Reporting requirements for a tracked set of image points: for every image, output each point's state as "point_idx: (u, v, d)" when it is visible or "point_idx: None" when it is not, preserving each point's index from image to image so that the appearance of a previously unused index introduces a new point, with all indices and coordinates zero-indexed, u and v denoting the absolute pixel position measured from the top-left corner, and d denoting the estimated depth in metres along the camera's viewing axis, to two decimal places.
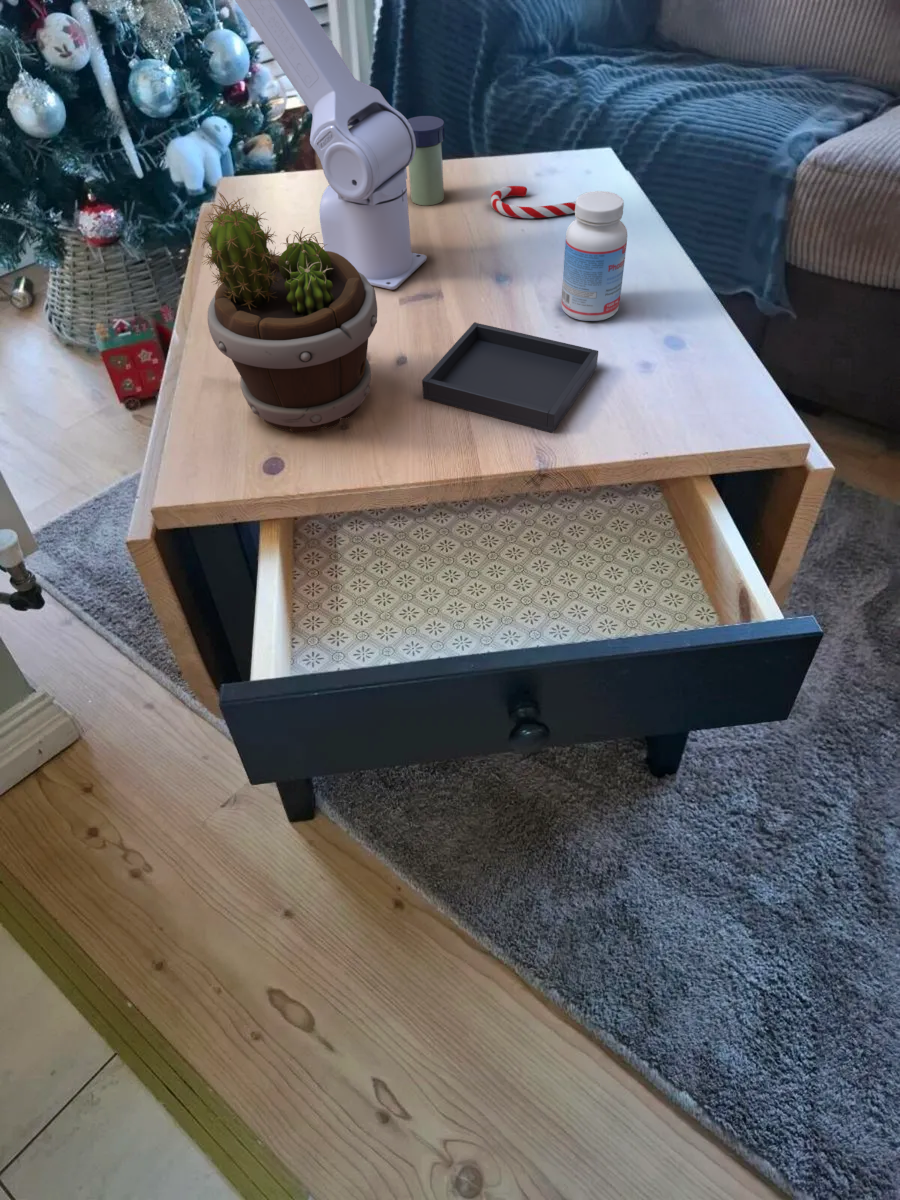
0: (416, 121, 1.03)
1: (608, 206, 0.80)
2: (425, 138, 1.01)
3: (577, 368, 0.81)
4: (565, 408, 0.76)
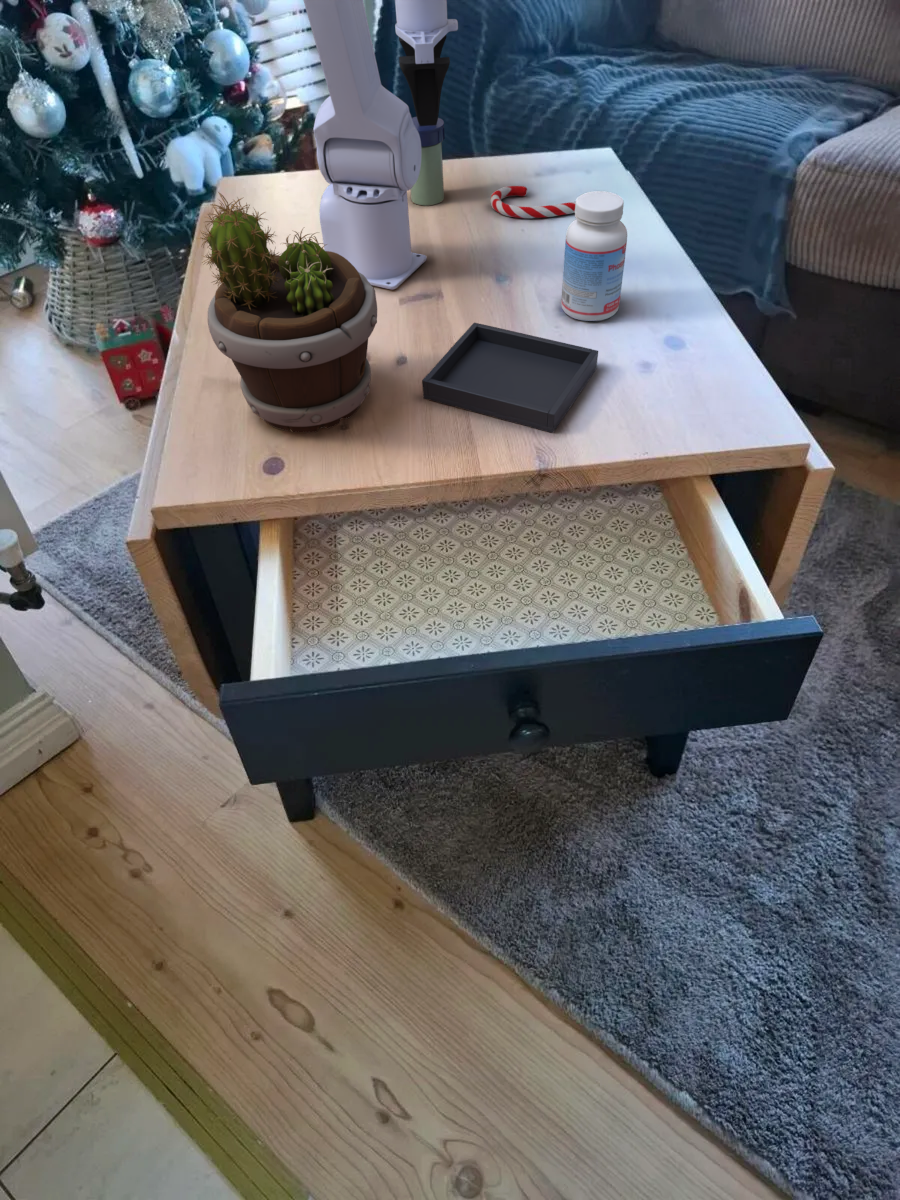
0: (416, 121, 1.03)
1: (608, 206, 0.80)
2: (425, 138, 1.01)
3: (577, 368, 0.81)
4: (565, 408, 0.76)
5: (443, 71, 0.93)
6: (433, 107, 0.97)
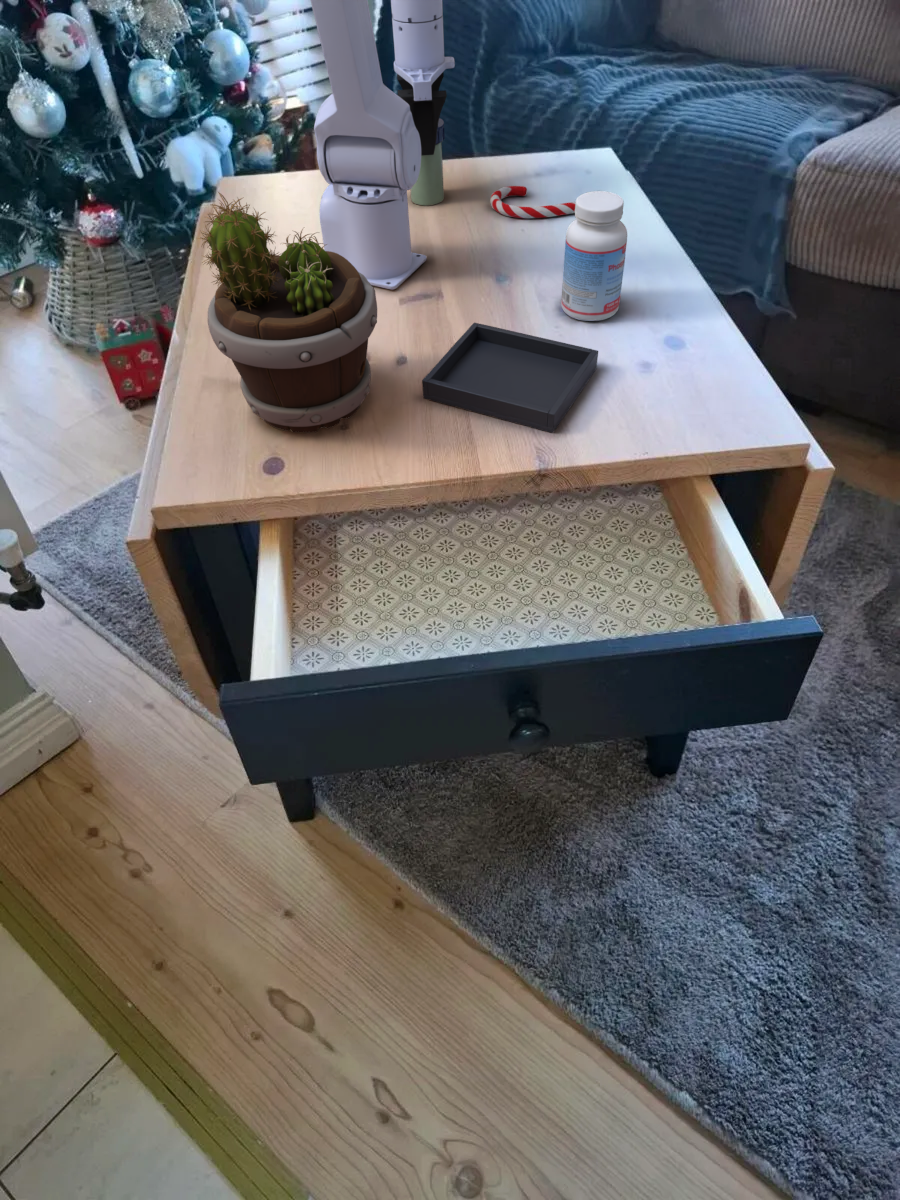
0: None
1: (608, 206, 0.80)
2: None
3: (577, 368, 0.81)
4: (565, 408, 0.76)
5: (440, 104, 0.96)
6: (430, 138, 1.00)
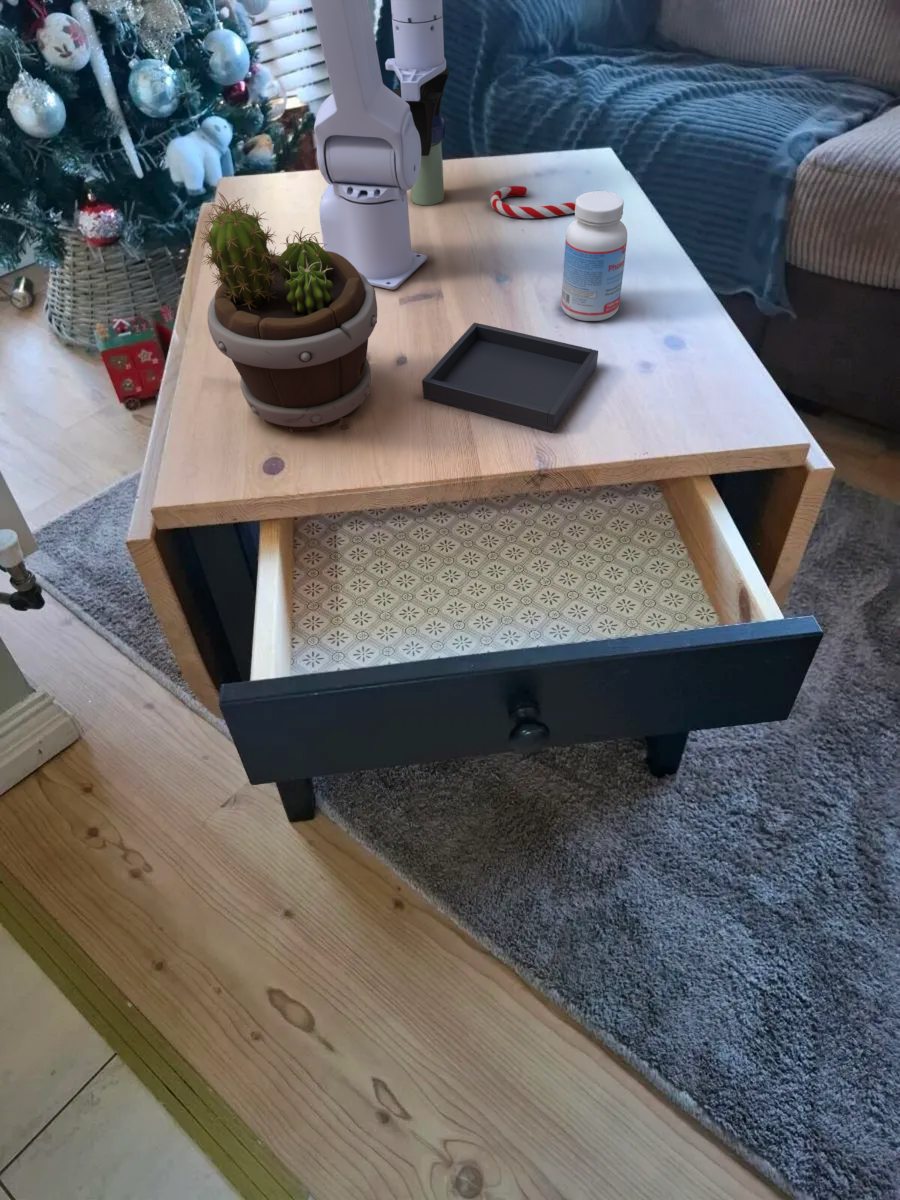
0: None
1: (608, 206, 0.80)
2: None
3: (577, 368, 0.81)
4: (565, 408, 0.76)
5: None
6: None
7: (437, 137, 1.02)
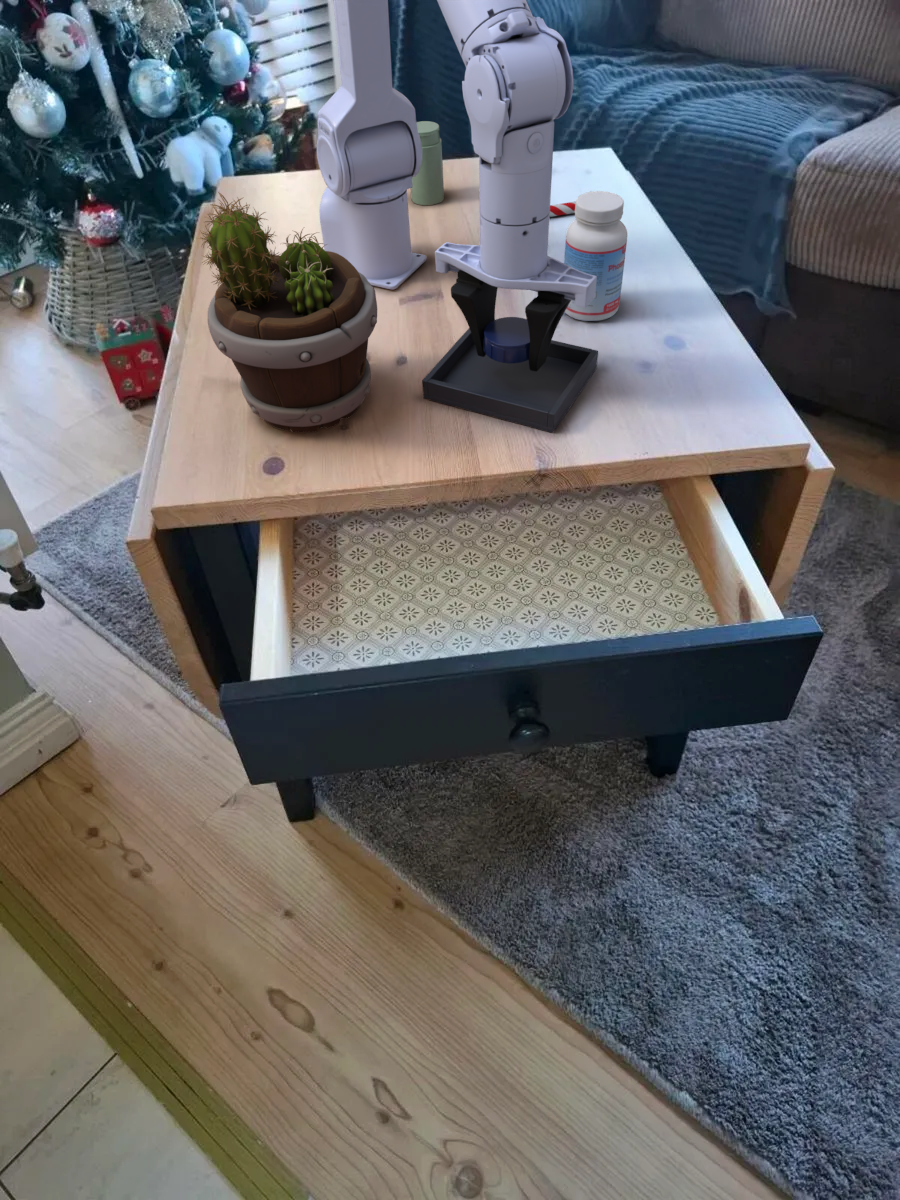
0: (500, 333, 0.76)
1: (608, 206, 0.80)
2: None
3: (577, 368, 0.81)
4: (565, 408, 0.76)
5: None
6: (547, 343, 0.76)
7: (485, 349, 0.76)
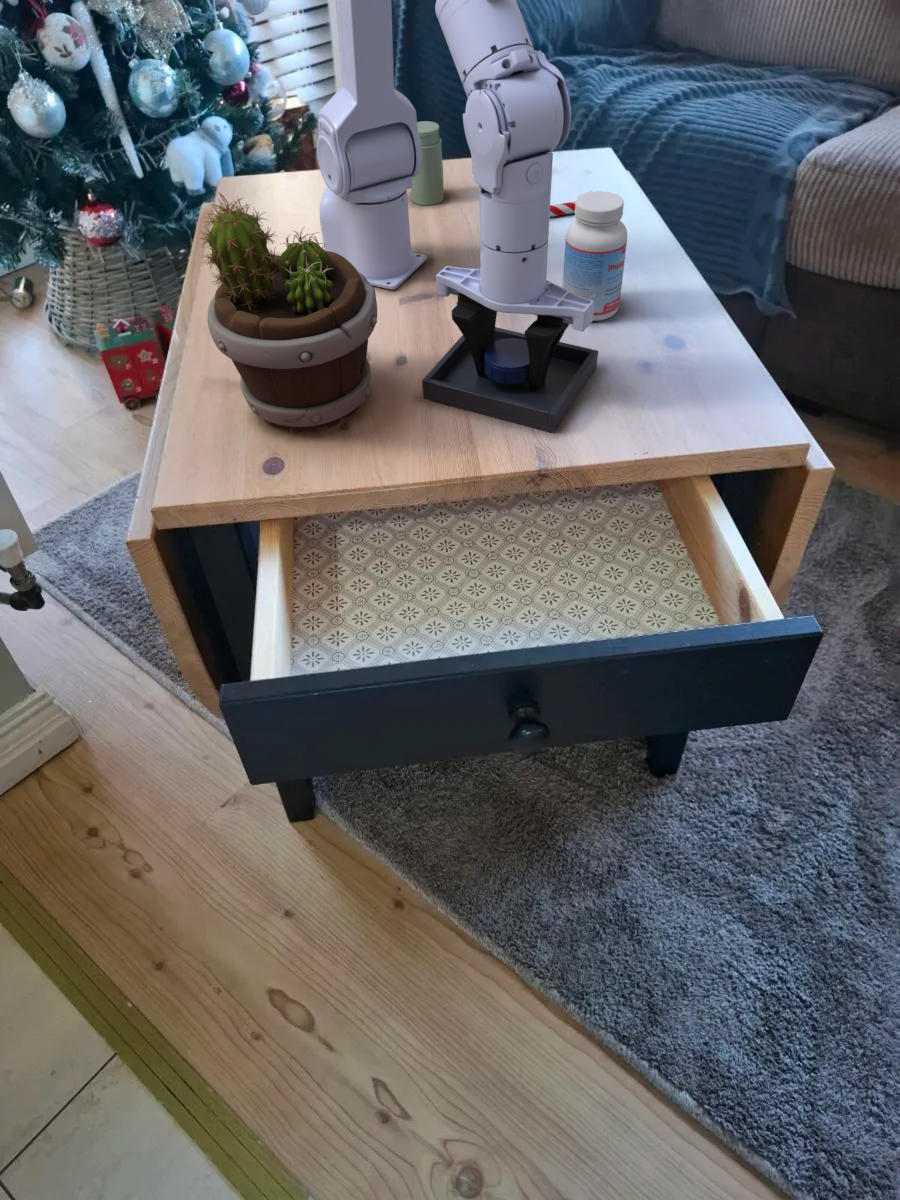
0: (499, 354, 0.78)
1: (608, 206, 0.80)
2: None
3: (577, 368, 0.81)
4: (565, 408, 0.76)
5: None
6: (546, 364, 0.78)
7: (485, 369, 0.78)
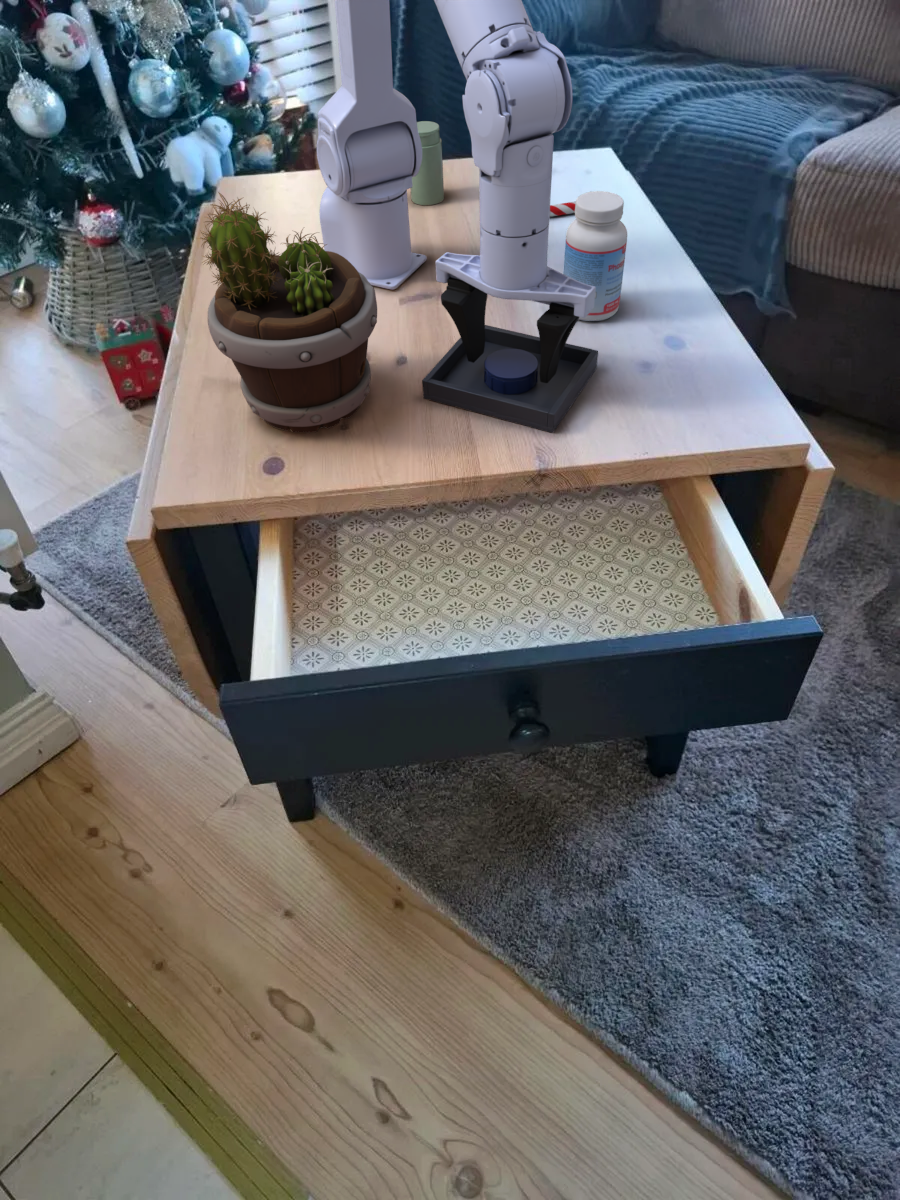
0: (500, 365, 0.78)
1: (608, 206, 0.80)
2: (534, 378, 0.78)
3: (577, 368, 0.81)
4: (565, 408, 0.76)
5: None
6: (558, 355, 0.76)
7: (486, 380, 0.79)
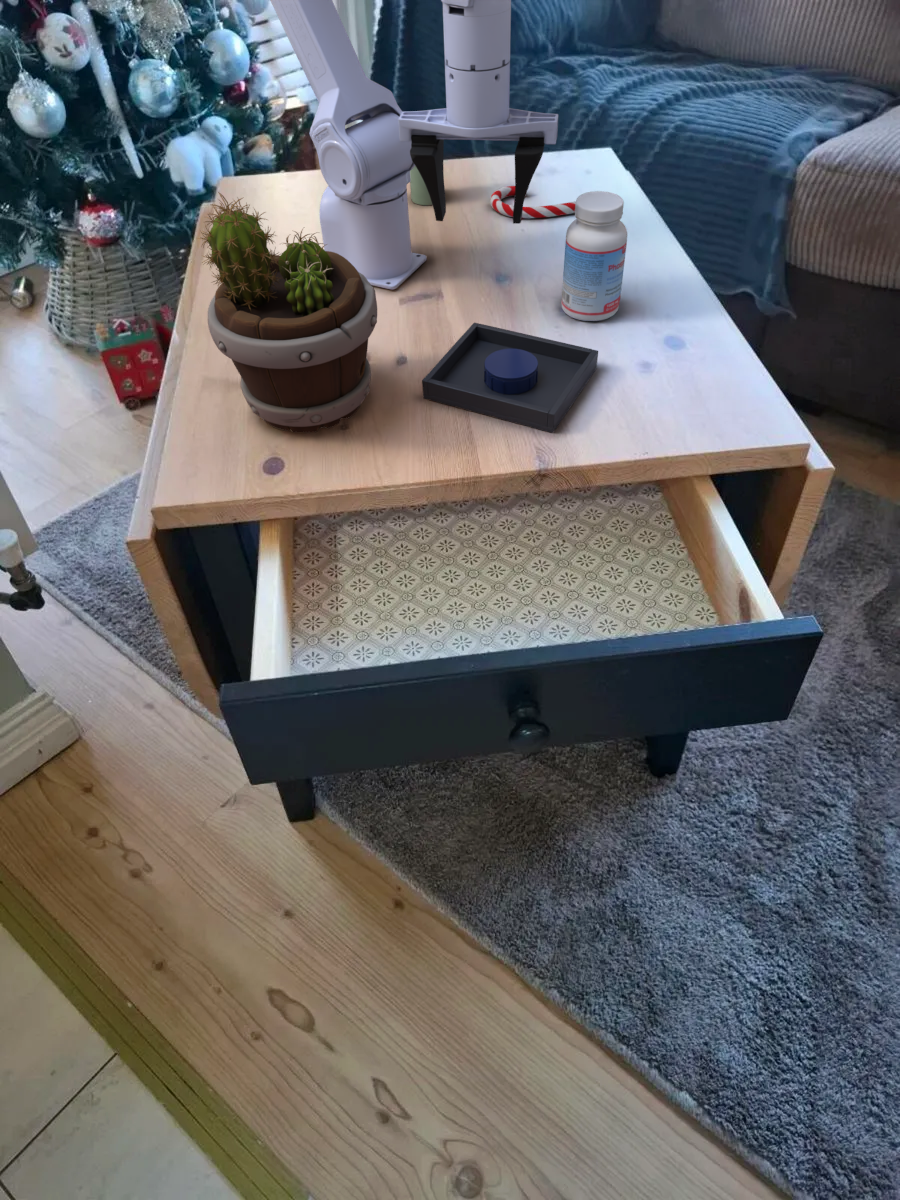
0: (500, 365, 0.78)
1: (608, 206, 0.80)
2: (534, 378, 0.78)
3: (577, 368, 0.81)
4: (565, 408, 0.76)
5: None
6: None
7: (486, 380, 0.79)
